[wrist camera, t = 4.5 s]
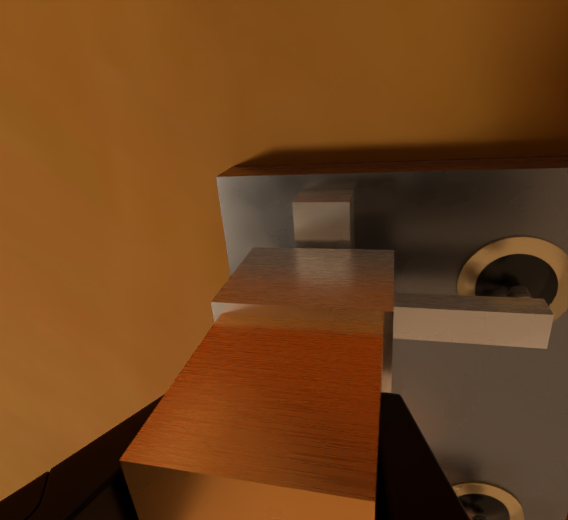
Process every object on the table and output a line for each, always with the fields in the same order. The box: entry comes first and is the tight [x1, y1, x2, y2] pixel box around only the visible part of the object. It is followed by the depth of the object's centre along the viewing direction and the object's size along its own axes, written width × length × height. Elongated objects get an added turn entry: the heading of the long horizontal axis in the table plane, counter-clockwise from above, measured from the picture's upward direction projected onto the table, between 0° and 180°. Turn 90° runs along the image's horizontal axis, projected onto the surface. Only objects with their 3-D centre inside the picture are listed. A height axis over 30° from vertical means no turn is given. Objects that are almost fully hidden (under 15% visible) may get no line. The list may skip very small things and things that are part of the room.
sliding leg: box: [119, 247, 554, 520], centre depth 9 cm, size 4×8×8 cm, turn 95°
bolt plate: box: [216, 156, 568, 520], centre depth 14 cm, size 17×12×6 cm
